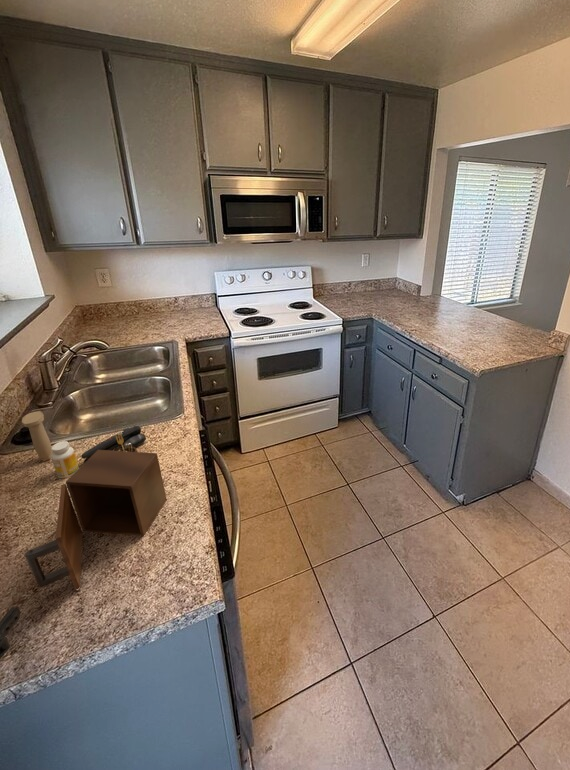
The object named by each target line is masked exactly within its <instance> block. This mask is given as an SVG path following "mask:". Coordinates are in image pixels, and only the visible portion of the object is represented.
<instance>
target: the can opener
mask: <svg viewBox="0 0 570 770" xmlns="http://www.w3.org/2000/svg"><path fill="white" fill-rule="evenodd" d="M120 432H121V435H122V438H123V440H124V442H123V443H122V445H123V447H124V448H125V447H128V446H129V447H131V446H132V447H135V448H137V447H139V446H140V445H142V444H143V443H145V442H146V440H147V437H146V434H144V433H142V428H141V426H140V425H134V426H132V427H124V428H123V430H122V431H120ZM120 432H118V434H119V436H120ZM116 435H117V434H116ZM117 438H118V435H117ZM120 439H121V436H120ZM118 441H119V438H118ZM128 443H129V444H130V445H129V444H128ZM126 444H127V445H126ZM120 447H122V446H121V444H118V442H117V439H116V436H115V434H114V435H113V436H110V437H109V438H107V439H104V440H103V441H101V442H99V443H98V444H96V445H94V446H92V447H90V448H88V449H87V450H86V451H84V452H83V453H82V454H81V456H80V458H81V459H84V460H83V464H84V463H85V462H86V461H87V460H88V459H89V458H90V457H91V456H92V455H93V454H94V453H95V452H96V451H97V450H111V451H115V450H116V449H118V448H120Z"/></svg>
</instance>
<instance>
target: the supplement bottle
mask: <svg viewBox="0 0 570 770" xmlns="http://www.w3.org/2000/svg"><path fill="white" fill-rule="evenodd" d="M51 447H52V452H53V453H52V455H51V461H52V464H53V467H54V469H55V473H56V476H57V478H60V479H67V478H70V477H71V476H72V475H73V474H74V473H75V472H76V471H77V470H78V469H79V468H80V465H79V462H78V458H77V456H76V453H75V452H76V451H75V450H74V448H73V447H71V445H70V443H69V442H68V440H61V441H58V442H56V443H54V444H53V445H51Z"/></svg>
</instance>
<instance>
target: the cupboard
mask: <svg viewBox="0 0 570 770" xmlns="http://www.w3.org/2000/svg"><path fill="white" fill-rule="evenodd" d="M159 461H160V460H159V458H158V453H157V452H144V451H143V452H142V451H137V452H128V451H120V450H113V451H111V450H97V451H96V452H95V453H94V454H93V455H92V456H91V457H90V458H89V459H88V460H87V461H86V462H85V463H84V462H83V464H82V465H81V466H79V469H78V470H77V471H76V472H75V473H74V474H73V475H72V476H70V477H68V479H67V480H66V481H65V484H66V487H67V490H68V493H69V496H70V499H71V502H72V504H73V507H74V510H75V513H76V516H77V519H78V522H79V525H80V527H81V530H82V533H85V532H86V533H97V534H111V535H124V536H134V535H141V536H140V537H145V536H146V535H147V533H148V531H149V530H148V529H150V528H151V526H152V525H153V523H154V521H155V520H156V518H158V517H157V516H158V515H159V513H160V512H161V510H162V509H163V507H164V505H165V504H166V502H167V499H168V498H167V494H166V489H165V486H164V480H163V475H162V471H161V466H160V462H159ZM146 532H147V533H146ZM144 535H145V536H144Z"/></svg>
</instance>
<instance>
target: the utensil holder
mask: <svg viewBox="0 0 570 770" xmlns="http://www.w3.org/2000/svg"><path fill="white" fill-rule="evenodd" d="M121 432H122V431H119V432H118V433H120V436H121V439H120V436H119V434H118V433H117V434H114V435H115V436H116V439H117V442H118V444H121V446H120V447H121V449H120V450H119V451H128V452H138V449H137V447H132V446H131V447H129V446H128V447H125V448H124V447H123V445H122V443H123V442H124V440H123V438H122V435H121ZM117 435H118V438H119V441H118V438H117ZM128 444H129V443H128ZM126 445H127V444H126ZM129 445H130V444H129Z"/></svg>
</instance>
